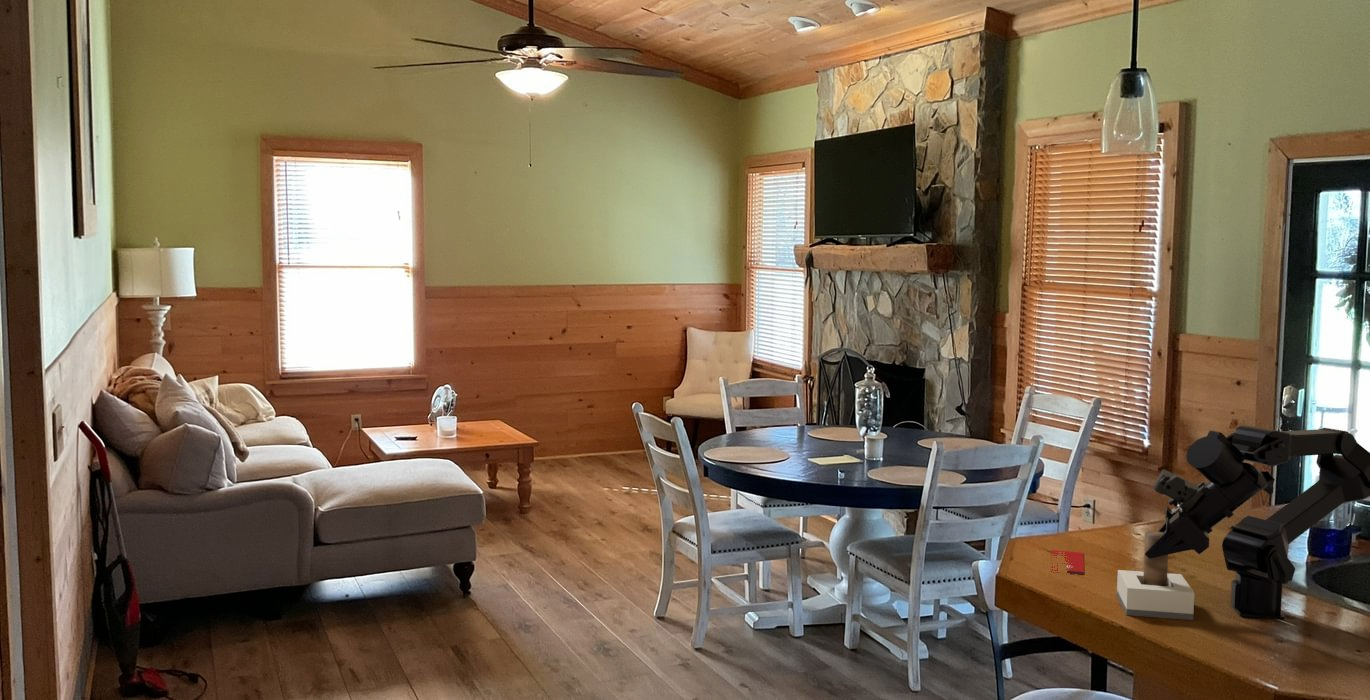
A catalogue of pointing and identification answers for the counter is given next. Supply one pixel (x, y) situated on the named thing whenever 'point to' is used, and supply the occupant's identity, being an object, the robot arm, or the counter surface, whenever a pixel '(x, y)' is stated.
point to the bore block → (1155, 596)
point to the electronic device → (1076, 561)
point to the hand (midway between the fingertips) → (1146, 553)
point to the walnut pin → (1154, 563)
